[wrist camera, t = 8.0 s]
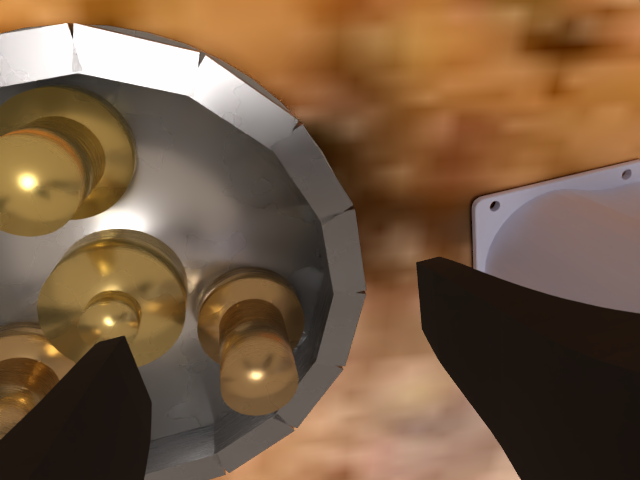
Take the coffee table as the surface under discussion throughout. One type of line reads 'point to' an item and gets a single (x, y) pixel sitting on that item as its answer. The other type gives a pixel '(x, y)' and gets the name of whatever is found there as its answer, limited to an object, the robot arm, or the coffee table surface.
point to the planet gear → (61, 158)
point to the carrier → (185, 253)
